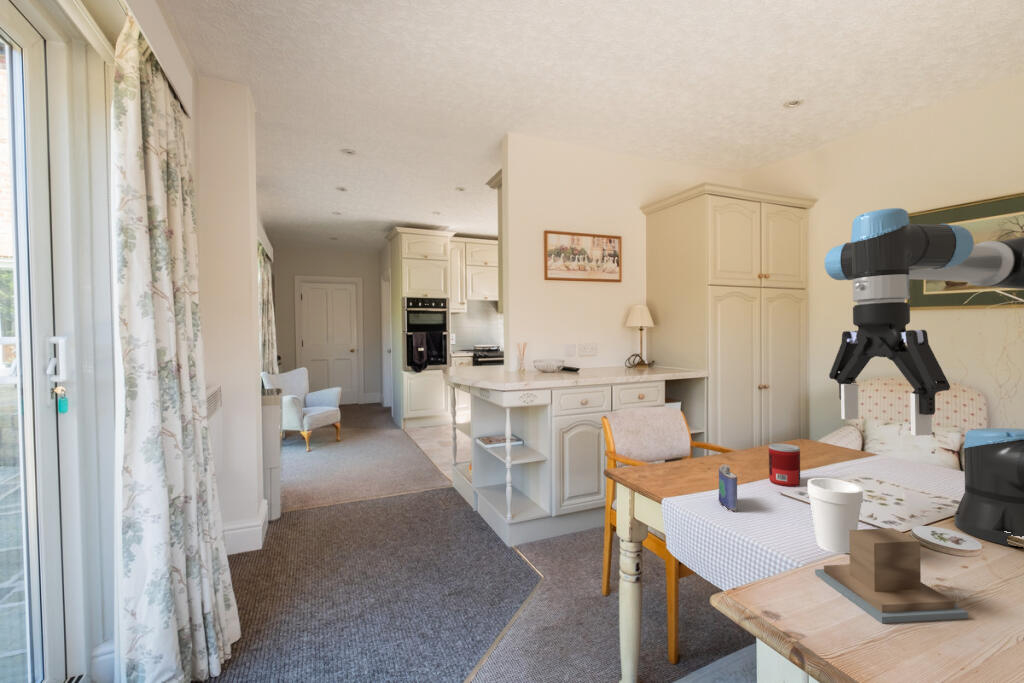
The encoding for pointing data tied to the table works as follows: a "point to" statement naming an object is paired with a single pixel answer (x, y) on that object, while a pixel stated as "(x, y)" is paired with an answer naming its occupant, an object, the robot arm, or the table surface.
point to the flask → (727, 488)
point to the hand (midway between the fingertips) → (882, 426)
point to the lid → (887, 572)
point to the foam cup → (834, 512)
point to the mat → (893, 616)
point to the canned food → (784, 465)
